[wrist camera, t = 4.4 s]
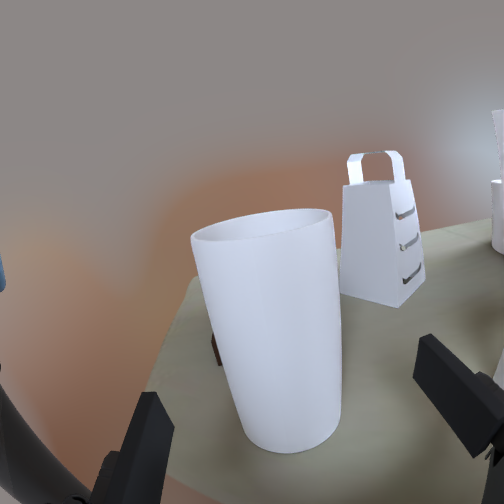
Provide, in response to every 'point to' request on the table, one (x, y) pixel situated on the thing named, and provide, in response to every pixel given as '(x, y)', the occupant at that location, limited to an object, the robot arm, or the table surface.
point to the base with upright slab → (500, 372)
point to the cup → (276, 322)
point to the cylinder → (498, 187)
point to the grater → (380, 237)
